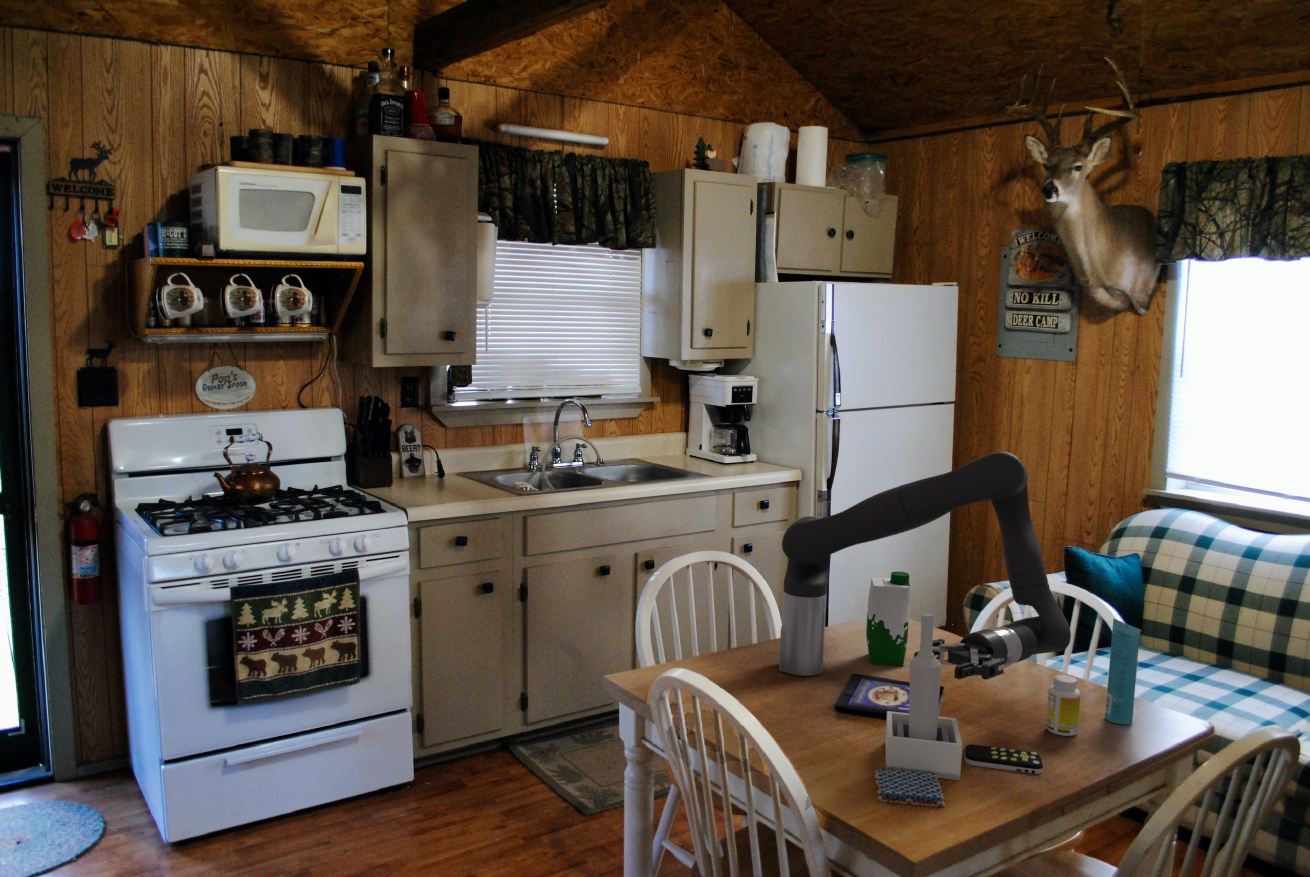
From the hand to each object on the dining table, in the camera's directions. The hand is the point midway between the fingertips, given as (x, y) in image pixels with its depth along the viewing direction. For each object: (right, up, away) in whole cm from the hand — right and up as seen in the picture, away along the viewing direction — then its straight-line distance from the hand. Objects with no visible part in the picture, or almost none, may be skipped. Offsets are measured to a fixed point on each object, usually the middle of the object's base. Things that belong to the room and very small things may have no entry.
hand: (935, 666), depth 175 cm
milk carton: (+3, -11, +53) cm, 54 cm away
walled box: (-2, -17, 0) cm, 17 cm away
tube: (+42, -16, +22) cm, 49 cm away
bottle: (-2, -16, 0) cm, 16 cm away
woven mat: (-7, -18, -11) cm, 23 cm away
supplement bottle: (+28, -16, +15) cm, 36 cm away
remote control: (+12, -18, +1) cm, 21 cm away
